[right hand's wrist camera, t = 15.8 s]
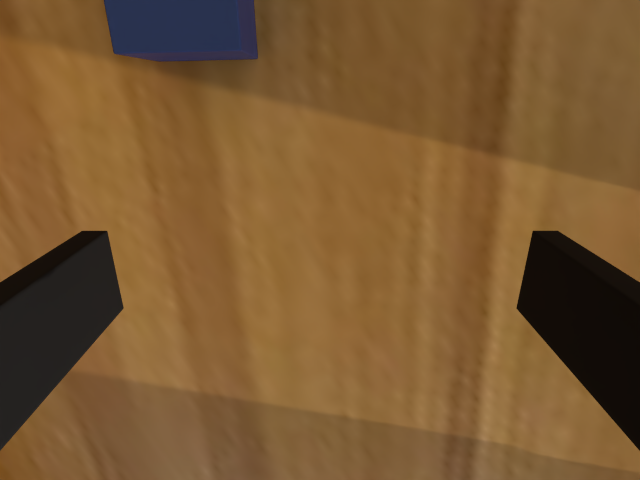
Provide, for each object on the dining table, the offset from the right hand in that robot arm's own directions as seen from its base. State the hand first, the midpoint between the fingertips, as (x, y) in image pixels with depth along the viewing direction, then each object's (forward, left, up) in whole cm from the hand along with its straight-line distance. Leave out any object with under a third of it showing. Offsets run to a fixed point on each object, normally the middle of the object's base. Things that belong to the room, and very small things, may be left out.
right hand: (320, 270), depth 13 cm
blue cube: (-9, +6, -11) cm, 15 cm away
